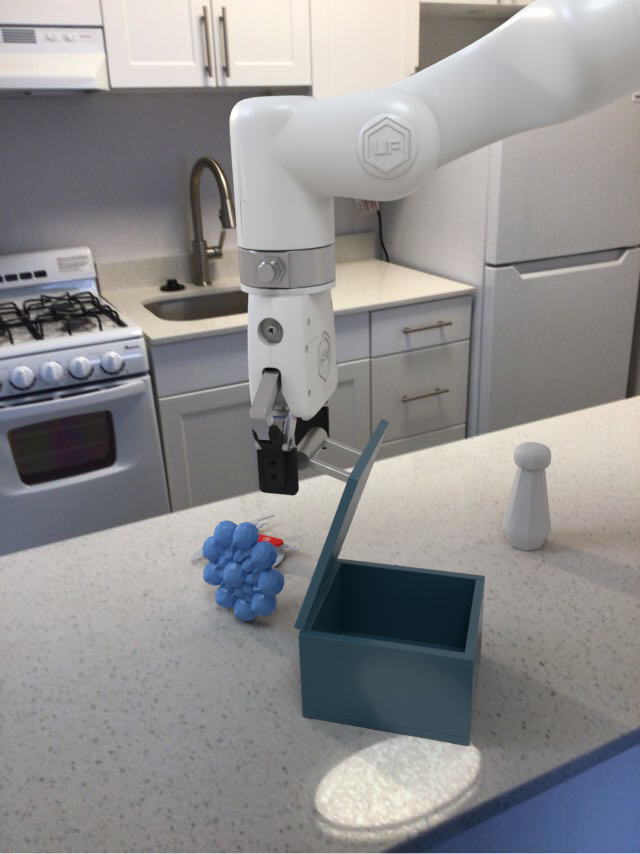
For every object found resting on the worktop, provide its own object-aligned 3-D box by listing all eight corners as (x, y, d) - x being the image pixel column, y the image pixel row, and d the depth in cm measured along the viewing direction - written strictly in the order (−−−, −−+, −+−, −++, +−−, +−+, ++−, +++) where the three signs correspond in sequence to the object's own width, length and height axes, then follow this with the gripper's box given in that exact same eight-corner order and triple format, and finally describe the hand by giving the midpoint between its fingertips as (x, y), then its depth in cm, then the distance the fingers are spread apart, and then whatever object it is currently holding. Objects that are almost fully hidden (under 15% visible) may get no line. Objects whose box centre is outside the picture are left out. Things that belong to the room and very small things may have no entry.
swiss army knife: (324, 534, 97) (323, 521, 97) (269, 589, 86) (268, 574, 85) (248, 517, 102) (247, 504, 102) (187, 567, 91) (186, 552, 90)
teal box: (480, 652, 74) (485, 575, 71) (469, 746, 63) (473, 660, 60) (337, 631, 78) (335, 557, 75) (302, 716, 67) (298, 634, 64)
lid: (389, 421, 68) (326, 396, 69) (358, 480, 57) (283, 449, 58) (338, 555, 75) (281, 531, 76) (302, 631, 64) (235, 602, 64)
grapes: (313, 620, 80) (309, 520, 76) (268, 652, 75) (261, 547, 71) (237, 582, 87) (230, 489, 83) (192, 609, 83) (181, 511, 78)
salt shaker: (491, 541, 94) (497, 445, 89) (519, 526, 98) (526, 432, 93) (531, 559, 90) (539, 459, 85) (559, 543, 93) (568, 446, 89)
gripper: (301, 291, 50) (310, 519, 57) (358, 252, 66) (361, 434, 72) (197, 288, 52) (217, 510, 59) (277, 251, 68) (286, 429, 74)
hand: (296, 468), depth 65 cm, fingers open, 9 cm apart
